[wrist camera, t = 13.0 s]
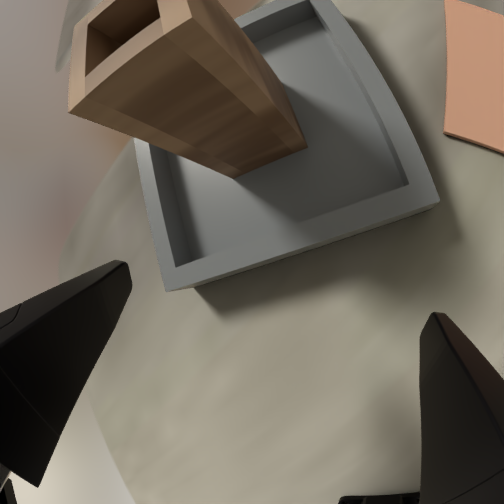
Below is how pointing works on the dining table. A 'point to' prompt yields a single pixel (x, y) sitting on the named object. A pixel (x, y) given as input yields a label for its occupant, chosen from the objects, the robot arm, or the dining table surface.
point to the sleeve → (182, 83)
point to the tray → (292, 160)
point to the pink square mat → (474, 75)
